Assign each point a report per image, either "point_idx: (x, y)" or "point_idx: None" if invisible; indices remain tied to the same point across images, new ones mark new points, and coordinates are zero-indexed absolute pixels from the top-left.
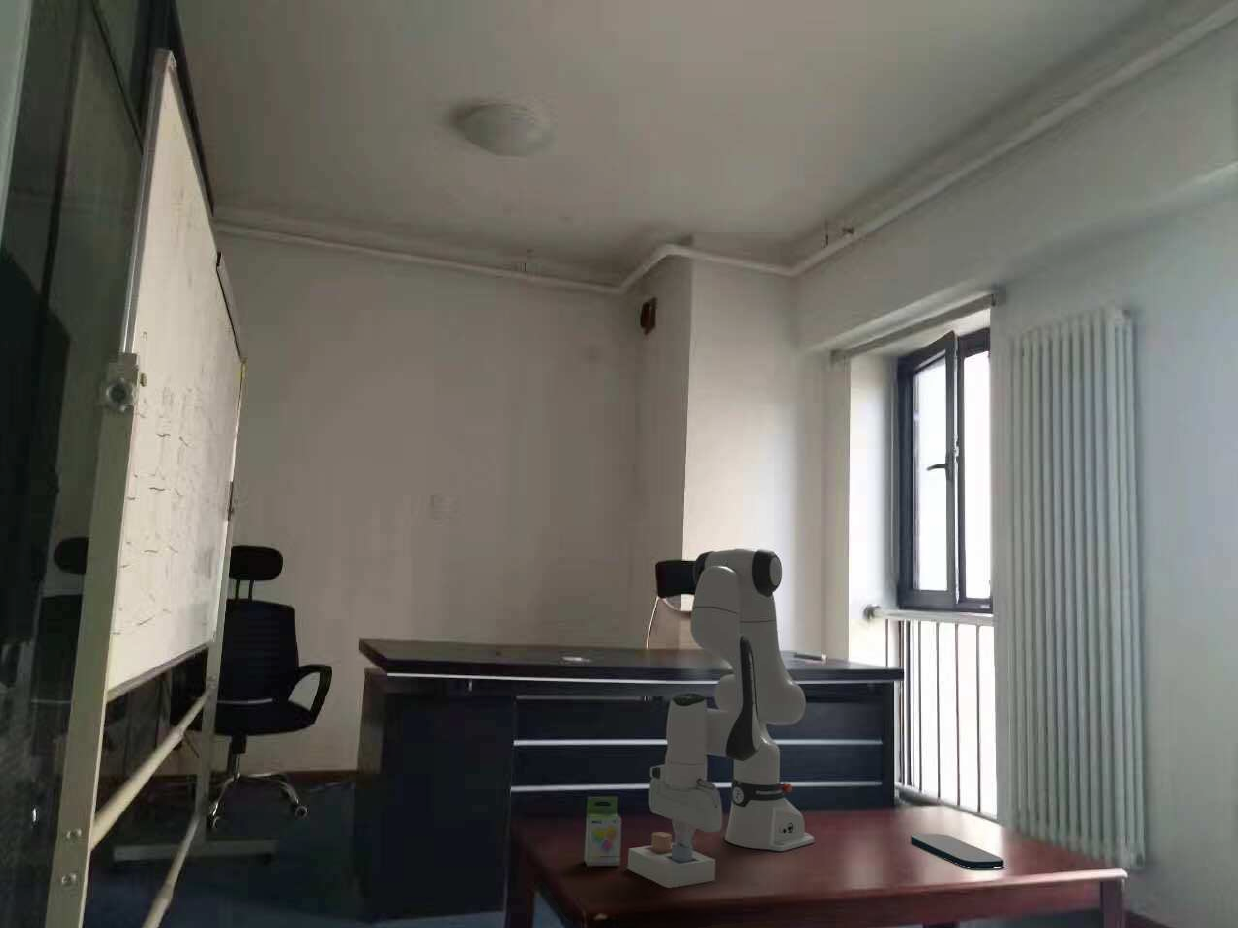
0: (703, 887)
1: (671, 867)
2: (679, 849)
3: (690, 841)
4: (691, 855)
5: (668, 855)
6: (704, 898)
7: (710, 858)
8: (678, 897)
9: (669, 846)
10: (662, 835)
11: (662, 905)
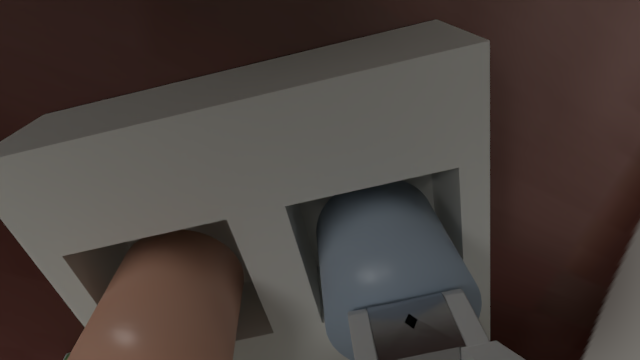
0: (506, 137)
1: (487, 335)
2: None
3: (473, 313)
4: (446, 235)
5: (301, 296)
6: (622, 194)
7: (440, 61)
8: (554, 276)
9: (223, 296)
10: None
11: (586, 339)
